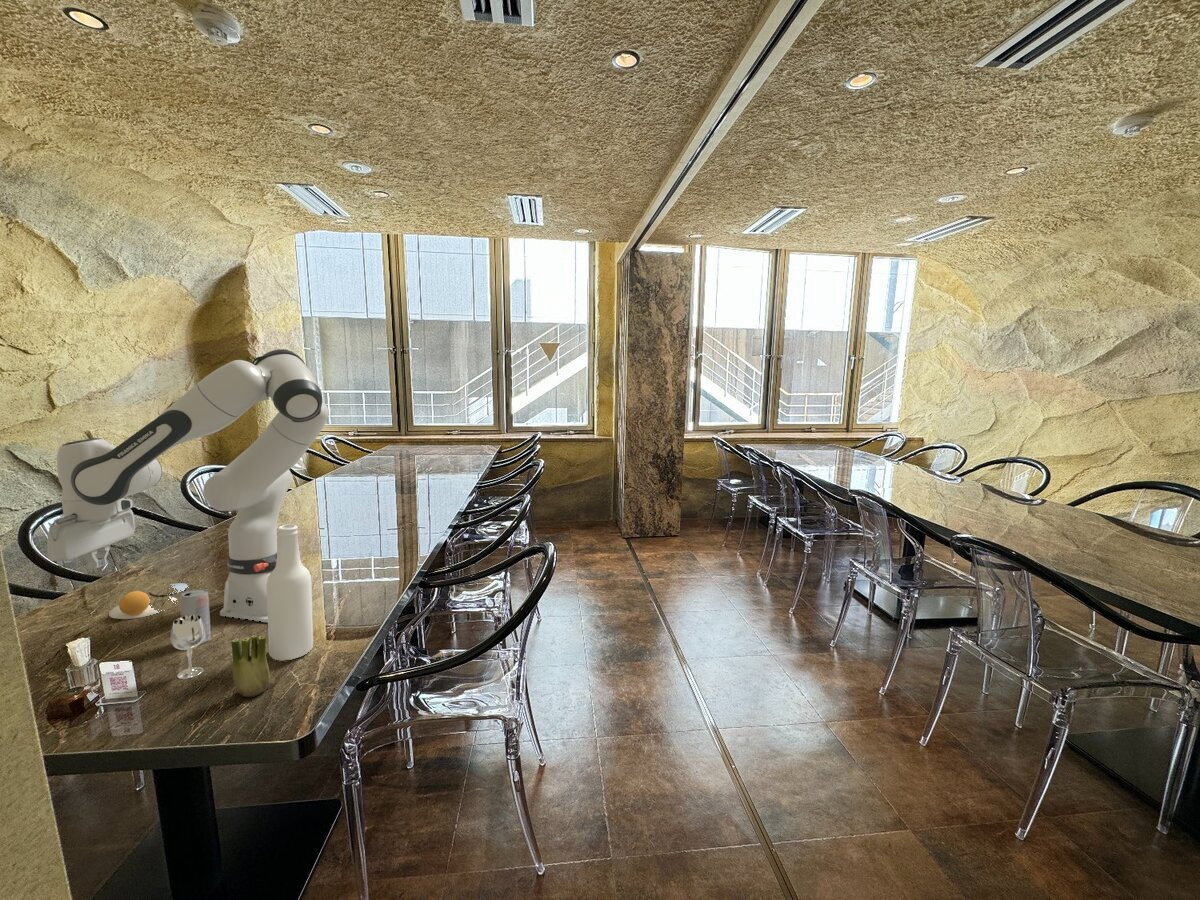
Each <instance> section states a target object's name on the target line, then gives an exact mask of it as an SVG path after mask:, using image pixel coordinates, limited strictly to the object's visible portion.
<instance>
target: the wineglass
mask: <svg viewBox="0 0 1200 900" xmlns="http://www.w3.org/2000/svg"><path fill="white" fill-rule="evenodd" d="M204 638H205V626H204V623H203V620H202V618H201V616H200V615H187V616H183V617H181V616H180V617H177V618H176V619H174V620H173V622H172V625H171V630H170V642H171V645H172V646H173V648H175V649H177V650H181V651H185V650H186V652H185V653H186V656H187V659H188V668H186V669H183V670H181V671H180V672H179V673H178V674H177V675H176V677H177V678H178V679H181V680H186V679H192V678H195V677H197V676H199V675H201V674H202V673H203V672H204V670H205V669H204V668H203V667H200V666H193V665H192V655H193V650H192V649H194V648H196V647H198V646H200V645H202V644H201V643H202V641H203V640H204ZM199 644H200V645H199Z"/></svg>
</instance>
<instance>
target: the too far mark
mask: <svg viewBox="0 0 1200 900" xmlns="http://www.w3.org/2000/svg"><path fill="white" fill-rule="evenodd" d="M169 584H170V585H172V586H173V587H172V586H171V587H172V588H174V590H175V588H176V589H177V590H178V592H177V591H176V590H175V591H176V592H177V594H180V593H179V592H181V591H183V592H185V591H184V590H185V588H187V587H188V585H187V584H188V583H185V582H184V583H182V582H177V583H169ZM174 585H175V586H174ZM188 588H189V587H188ZM169 589H170V588H169ZM189 589H190V588H189ZM180 590H181V591H180ZM173 592H174V591H173ZM173 592H172V594H173V595H175V594H174V593H173ZM176 592H175V593H176ZM181 593H182V592H181ZM170 594H171V593H170ZM170 594H169V595H168V594H167V595H168V596H171V595H170Z"/></svg>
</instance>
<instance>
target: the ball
mask: <svg viewBox="0 0 1200 900" xmlns="http://www.w3.org/2000/svg"><path fill="white" fill-rule="evenodd" d="M149 597H150V596H149V594H147V593H146V592H143V591H140V590H139V591H138V590H134V591H130V592H128V593H126V594H125V595H123V596H122V597H121V599H120V600H119V604H118V605H119V608H120V610H121V611H122V612H123V613H124V614H127V615H136V614H140V613H142V612H143V611H145V610H146V609H147V607H148V606H149V603H150V599H149Z"/></svg>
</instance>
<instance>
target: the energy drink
mask: <svg viewBox="0 0 1200 900" xmlns="http://www.w3.org/2000/svg"><path fill="white" fill-rule="evenodd" d="M209 598H210V596H209V592H208V590H207V589H206V588H193V589H188V590H186V591H183V592H181V594H180V597H179V607H180V608H179V610H180V617H183V616H187V615H200V616H201V618H202V620H203V623H204V626H205V638H204V640H203V641H202V643H201V644H199V645H198V646H200V645H203V644H205V643H208V641H209V640H210V639H211V638H212V637H211V636H212V635H211V618H210V617H211V616H210V615H211V614H210V600H209Z"/></svg>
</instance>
